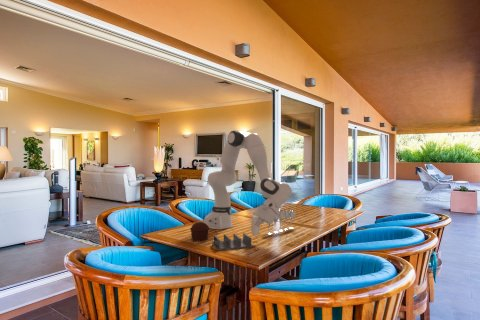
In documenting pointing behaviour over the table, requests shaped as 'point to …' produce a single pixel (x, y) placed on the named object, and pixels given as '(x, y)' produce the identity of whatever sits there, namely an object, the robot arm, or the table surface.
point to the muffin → (199, 231)
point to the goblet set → (286, 213)
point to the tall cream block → (253, 227)
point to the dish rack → (232, 242)
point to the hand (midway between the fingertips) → (254, 224)
